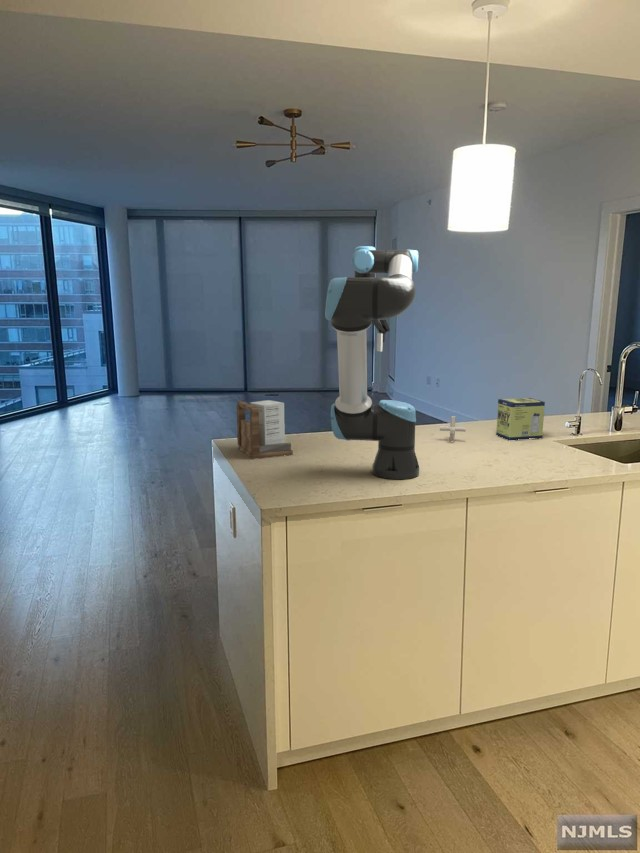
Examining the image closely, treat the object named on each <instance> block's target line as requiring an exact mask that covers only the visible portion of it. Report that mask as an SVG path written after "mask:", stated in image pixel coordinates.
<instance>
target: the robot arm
mask: <svg viewBox="0 0 640 853" xmlns="http://www.w3.org/2000/svg"><path fill="white" fill-rule="evenodd" d="M350 262H351V266H352V267H351V268H352V269H353V270H354V274H353V275H354V277H350V276H349V277H348V276H344V277H334V278H332V279H331V280H330V282H329V284H328V287H327V294H326V300H325V309H324V311H325V312H324V315H325V316H324V317H325V319H326V320H327V321H330V323H331V328H333V329H334V330H335V331H336V337H337V338H336V340H337V342H336V343H337V362H338V363H337V365H338V366H337V367H338V385H339V387H338V388H339V390H338V391H339V396H338V397H337V398H336V399H335V401H334V403H332V404H331V407H330V424H331V426H330V427H331V430H332V434H333V436H334V437H335V438H336V439H338V440H345V441H348V442H349V441H367V442H369V441H370V442H371V441H372V442H373V441H374V442H378V446H377V452H376V454H375V457H374V459H373V463H372V465H371V466H372V468H371V471H372V472H371V473H372V474H373V475H375V476H376V477H379V478H383V479H389V480H390V479H391V480H408V479H414V478H416V477H419V475H420V465H419V461H418V458H417V454H416V452H415V450H416V449H415V445H416V444H415V443H416V438H415V437H416V423H417V418H416V417H417V415H416V411H417V410H416V408H415V407H414V405H412V404H410V403H408V402H404V401H399V400H391V399H381V400H380V401H379V403H378V404H373V401H372V398H371V397H370V396H369V395H368V371H367V370H368V365H367V364H368V363H367V362H368V360H367V359H368V358H367V356H368V354H367V350H368V349H367V330H368V329H369V328H370V327H371V326H372V325H374V327H375V329H376V330H377V331H378V333H376V335H377V336H376V351H377V352H381V353H382V352H383V346H384V345H383V343H385V335H386V334H387V332H389V331H390V327H389V324H388V322H387V320H389V319H392V318H395V317H396V316H398V315H400V314H402V313H403V312H405V311H406V310H407V309H408V308H410V306H411V305H412V304H413V301H414V300H415V297H416V284H415V283H414V281H413V274H416V273H417V272H418V270H419V251H418V250H417V249H416V250H415V249H408V248H407V249H376V247H375V246H371V245H367V246H366V245H365V246H364V245H361V246H356V247H355V249H354V253H353V254H352V256H351V259H350ZM376 274H387V277H381V276H379V277H376Z"/></svg>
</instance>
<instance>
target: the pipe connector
mask: <svg viewBox="0 0 640 853" xmlns="http://www.w3.org/2000/svg"><path fill="white" fill-rule="evenodd" d="M439 431H440V432H441V431H442V432H449V442H450V441H454V442H455V435H456V434H455V433H456V432H467V431H466V426H456V416H450V426H448V425H440V426H439Z"/></svg>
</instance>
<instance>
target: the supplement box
mask: <svg viewBox="0 0 640 853" xmlns="http://www.w3.org/2000/svg"><path fill="white" fill-rule="evenodd" d="M249 404H250V405H252V406H254V407H256V408H258V412H259V444H260V446H261V445H271V444H281V443H286V440H285V439H286V436H285V435H286V434H285V433H286V430H285V425H286V424H285V402H282V401H281V402H280V401H276V400H271V399H270V400H269V399H267V400H266V399H265V400H260V401H253V402H252V401H251V402H249Z"/></svg>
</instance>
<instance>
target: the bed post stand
mask: <svg viewBox="0 0 640 853" xmlns="http://www.w3.org/2000/svg"><path fill="white" fill-rule="evenodd" d="M236 401H237V403H236V426H237V428H236V431H237V434H236V435H237V445H238V449H239V450H240V449H241V450H242V451H241V450H240V451H241V452H243V451H244V452H245V453H244V452H243V453H244V454H246V455H247V456H248V455H249V456H248V457H250V458H251V457H252V458H253V459H252V458H251V459H252V460H256V459H255V458H259V459H265V458H264V457H268V458H274V457H273V456H277V457H285V456H284V455H286V456H292V455H294V454H293V452H294V451H293V450H292V443H291V442H285V443H281V444H271V445H261V446H260V444H259V412H258V408H256V407H254V406H252V405H250V403H248V402H246V401H243V400H236ZM246 411H248V412H249V421H248V420H246Z"/></svg>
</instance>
